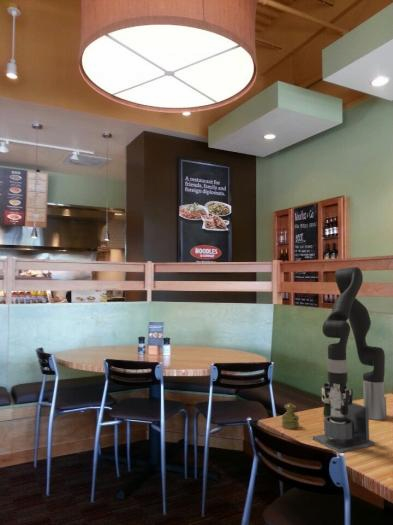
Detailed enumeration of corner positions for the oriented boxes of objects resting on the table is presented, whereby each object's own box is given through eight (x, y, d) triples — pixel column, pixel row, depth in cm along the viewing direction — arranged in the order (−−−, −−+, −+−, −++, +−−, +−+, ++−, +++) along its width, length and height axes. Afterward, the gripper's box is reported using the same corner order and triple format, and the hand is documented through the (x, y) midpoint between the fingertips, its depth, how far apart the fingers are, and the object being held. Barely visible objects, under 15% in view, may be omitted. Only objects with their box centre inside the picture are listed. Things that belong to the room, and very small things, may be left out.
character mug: (322, 412, 205) (321, 385, 205) (337, 413, 202) (336, 386, 203) (322, 419, 194) (321, 391, 195) (338, 420, 192) (337, 392, 193)
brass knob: (286, 422, 189) (286, 400, 190) (301, 426, 185) (301, 403, 185) (279, 427, 184) (278, 404, 184) (294, 430, 179) (293, 407, 180)
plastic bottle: (347, 435, 162) (348, 385, 161) (330, 434, 163) (330, 384, 163) (345, 428, 169) (346, 380, 168) (327, 427, 170) (328, 379, 169)
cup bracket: (346, 432, 176) (345, 399, 177) (374, 445, 162) (373, 408, 163) (312, 439, 169) (312, 404, 170) (339, 452, 155) (338, 414, 156)
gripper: (358, 372, 161) (359, 416, 160) (332, 366, 174) (333, 406, 174) (343, 374, 158) (344, 419, 157) (318, 367, 171) (319, 408, 171)
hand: (338, 412), depth 165 cm, fingers open, 6 cm apart
